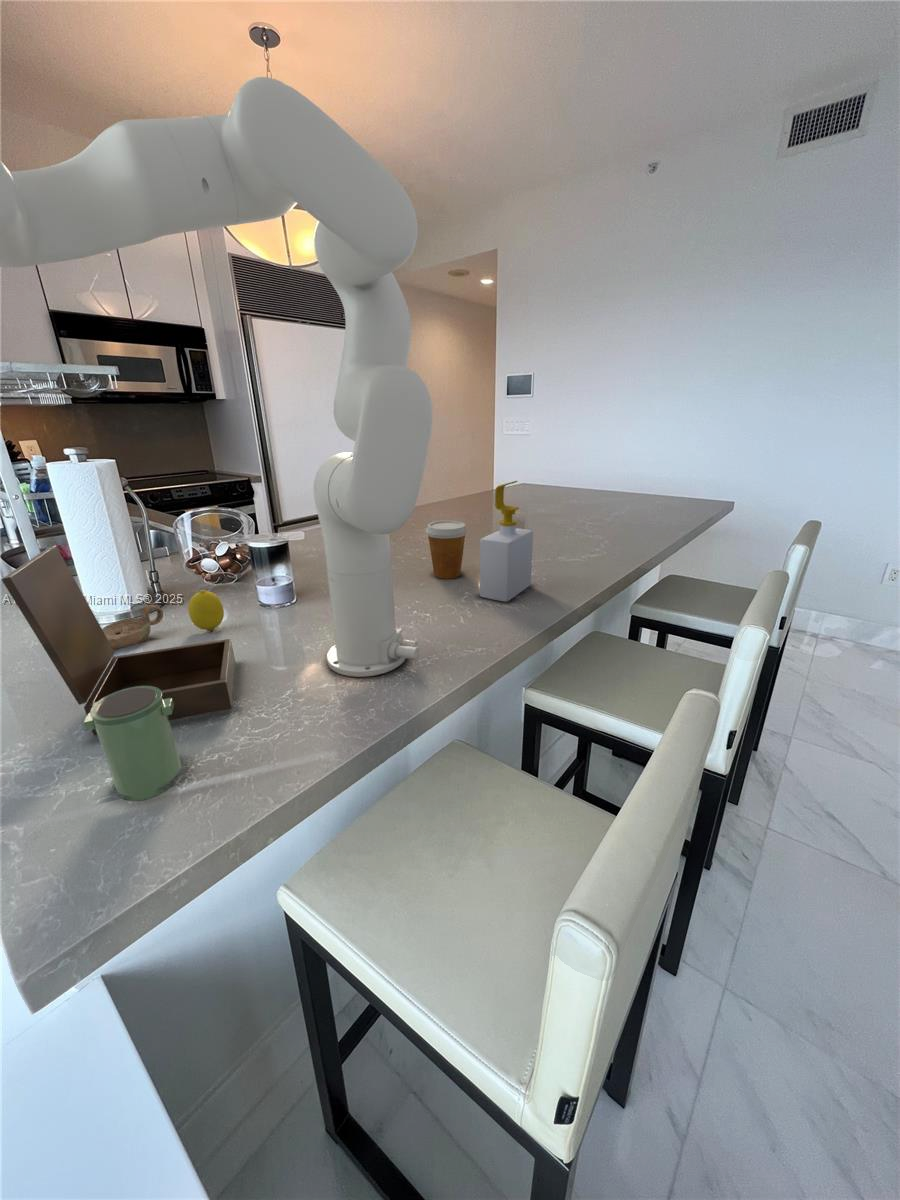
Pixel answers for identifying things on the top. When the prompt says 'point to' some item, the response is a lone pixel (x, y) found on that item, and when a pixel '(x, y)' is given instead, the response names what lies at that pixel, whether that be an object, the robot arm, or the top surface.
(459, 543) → the disposable coffee cup
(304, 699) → the top surface
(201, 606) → the lemon
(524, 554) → the soap bottle
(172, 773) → the green pot
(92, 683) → the chest lid
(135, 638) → the oil lamp
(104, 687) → the chest
